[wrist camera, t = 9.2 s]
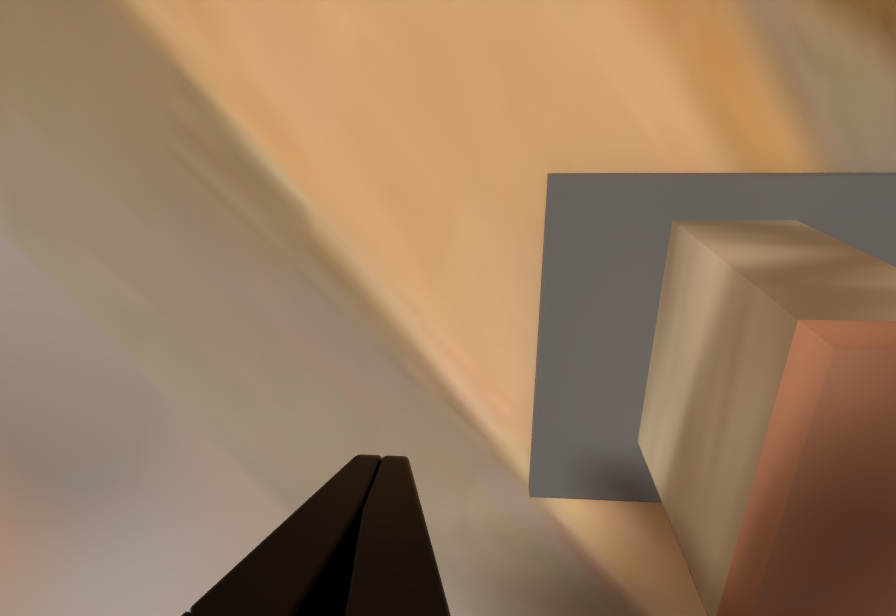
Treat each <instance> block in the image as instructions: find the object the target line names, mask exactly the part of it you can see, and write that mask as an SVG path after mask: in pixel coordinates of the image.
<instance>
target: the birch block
mask: <svg viewBox="0 0 896 616" xmlns="http://www.w3.org/2000/svg"><path fill="white" fill-rule="evenodd" d="M638 444H639V446H640V449H641V451H642V454H643V456H644V459H645V461H646V463H647V466H648V468H649V471H650V473H651V476H652V478H653V481H654V483H655V486H656V488H657V491H658V493H659V496H660V498H661V501H662V503H663V506H664V508H665V511H666V513H667V516H668V518H669V521H670V523H671V526H672V528H673V531H674V533H675V536H676V538H677V541H678V543H679V546H680V548H681V551H682V553H683V556H684V558H685V561H686V563H687V566H688V568H689V571H690V573H691V576H692V578H693V581H694V583H695V586H696V588H697V591H698V593H699V596H700V598H701V601H702V603H703V606H704V608H705V611H706V613H707V616H896V267H894V266H892V265H890V264H888V263H886V262H884V261H882V260H880V259H877V258H875V257H873V256H871V255H869V254H867V253H865V252H863V251H861V250H858V249H856V248H854V247H852V246H850V245H848V244H846V243H844V242H842V241H839V240H837V239H835V238H833V237H831V236H829V235H827V234H825V233H822V232H820V231H818V230H816V229H814V228H812V227H810V226H808V225H806V224H803V223H801V222H799V221H797V220H672V225H671V231H670V238H669V244H668V250H667V257H666V263H665V270H664V276H663V283H662V289H661V295H660V302H659V308H658V315H657V321H656V328H655V334H654V340H653V347H652V353H651V360H650V366H649V372H648V379H647V385H646V392H645V398H644V405H643V411H642V417H641V424H640V430H639V437H638Z"/></svg>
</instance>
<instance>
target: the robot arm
mask: <svg viewBox="0 0 896 616" xmlns="http://www.w3.org/2000/svg"><path fill="white" fill-rule="evenodd" d="M190 613H191V614H190ZM182 616H451V615H450V612H449V608H448V604H447V600H446V597H445V593H444V589H443V586H442V582H441V578H440V574H439V571H438V567H437V563H436V559H435V556H434V552H433V548H432V545H431V541H430V537H429V533H428V530H427V526H426V522H425V518H424V515H423V511H422V507H421V503H420V500H419V496H418V492H417V489H416V485H415V481H414V477H413V474H412V470H411V466H410V462H409V459H408V458H407V457H405V456H385V457H383V458H382V457H381V456H379V455H357V456H355V457H354V458H353V459H352V460H351V461H349V462H348V463H347V464H346V465H345V466H344V467H343V468H342V469H341V470H340V471H339V472H337V473H336V474H335V475H334V476H333V477H332V478H331V479H330V480H329V481H328V482H327V483H325V484H324V485H323V486H322V487H321V488H320V489H319V490H318V491H317V492H316V493H315V494H314V495H312V496H311V497H310V498H309V499H308V500H307V501H306V502H305V503H304V504H303V505H302V506H300V507H299V508H298V509H297V510H296V511H295V512H294V513H293V514H292V515H291V516H290V517H288V518H287V519H286V520H285V521H284V522H283V523H282V524H281V525H280V526H279V527H278V528H277V529H275V530H274V531H273V532H272V533H271V534H270V535H269V536H268V537H267V538H266V539H265V540H263V541H262V542H261V543H260V544H259V545H258V546H257V547H256V548H255V549H254V550H253V551H252V552H250V553H249V554H248V555H247V556H246V557H245V558H244V559H243V560H242V561H241V562H239V563H238V564H237V565H236V566H235V567H234V568H233V569H232V570H231V571H230V572H229V573H228V574H227V575H226V576H224V577H223V578H222V579H221V580H220V581H219V582H218V583H217V584H216V585H214V586H213V587H212V588H211V589H210V590H209V591H208V592H207V593H206V594H205V595H204V596H203V597H201V598H200V599H199V600H198V601H197V602H196V603H195V604H194V605H193V606H192V607H191V609H190V612H185V613H184V614H183V615H182Z"/></svg>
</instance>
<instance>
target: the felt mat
mask: <svg viewBox="0 0 896 616" xmlns="http://www.w3.org/2000/svg"><path fill="white" fill-rule="evenodd" d="M672 220H797V221H799V222H801V223H803V224H806V225H808V226H810V227H812V228H814V229H816V230H818V231H820V232H822V233H825V234H827V235H829V236H831V237H833V238H835V239H837V240H839V241H842V242H844V243H846V244H848V245H850V246H852V247H854V248H856V249H858V250H861V251H863V252H865V253H867V254H869V255H871V256H873V257H875V258H877V259H880V260H882V261H884V262H886V263H888V264H890V265H892V266H894V267H896V173H553V174H548V180H547V197H546V213H545V229H544V246H543V262H542V279H541V295H540V311H539V328H538V344H537V360H536V377H535V393H534V410H533V426H532V442H531V459H530V475H529V495H530V497H544V498H567V499H591V500H614V501H637V502H660V503H662V501H661V498H660V496H659V493H658V491H657V488H656V486H655V483H654V481H653V478H652V476H651V473H650V471H649V468H648V466H647V463H646V461H645V459H644V456H643V454H642V451H641V449H640V446H639V444H638V437H639V430H640V424H641V417H642V411H643V405H644V398H645V392H646V385H647V379H648V372H649V366H650V360H651V353H652V347H653V340H654V334H655V328H656V321H657V315H658V308H659V302H660V295H661V289H662V283H663V276H664V270H665V263H666V257H667V250H668V244H669V238H670V231H671V225H672Z"/></svg>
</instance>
